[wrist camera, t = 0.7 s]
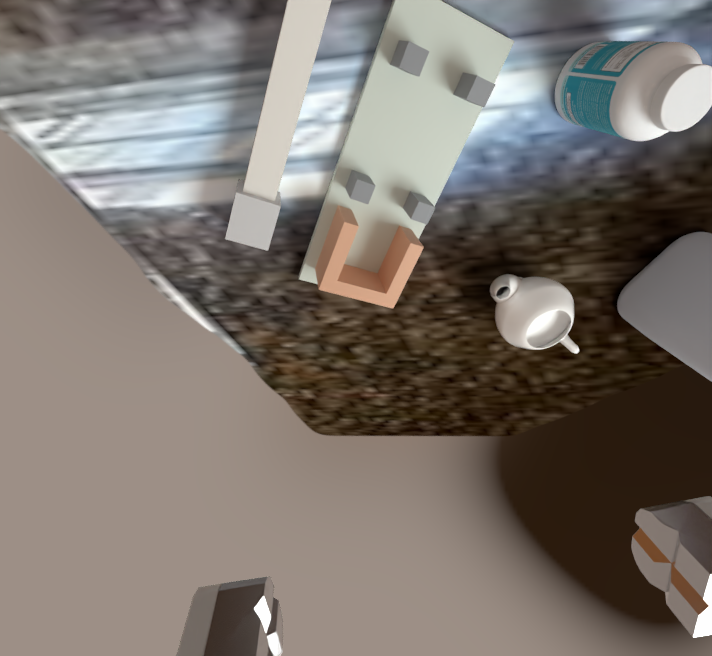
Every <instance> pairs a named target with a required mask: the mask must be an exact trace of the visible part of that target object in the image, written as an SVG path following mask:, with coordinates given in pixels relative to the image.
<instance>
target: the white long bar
mask: <svg viewBox="0 0 712 656" xmlns="http://www.w3.org/2000/svg"><path fill="white" fill-rule="evenodd" d="M330 3H331V0H287V4H286V9H285V13H284V17H283V21H282V26H281V30H280V34H279V38H278V42H277V47H276V51H275V55H274V59H273V64H272V68H271V72H270V76H269V80H268V85H267V89H266V93H265V97H264V102H263V106H262V110H261V114H260V118H259V123H258V127H257V131H256V135H255V140H254V144H253V148H252V152H251V156H250V161H249V165H248V169H247V173H246V178H245V181H243V180H240V179H239V181H238V185H237V190H236V194H235V198H234V203H233V207H232V211H231V216H230V220H229V225H228V229H227V233H226V238H225V239H227V240H231V241H234V242H238V243H242V244H245V245H249V246H253V247H256V248H260V249H263V250H267V251H268V249H269V245H270V242H271V239H272V235H273V232H274V228H275V225H276V221H277V218H278V214H279V211H280V208H281V200H280V192H278V189H279V185H280V181H281V178H282V174H283V171H284V167H285V164H286V160H287V157H288V153H289V149H290V146H291V142H292V139H293V135H294V132H295V128H296V124H297V121H298V117H299V114H300V110H301V107H302V103H303V100H304V96H305V92H306V89H307V85H308V82H309V78H310V75H311V71H312V68H313V64H314V60H315V57H316V53H317V50H318V46H319V43H320V39H321V35H322V32H323V28H324V25H325V21H326V18H327V14H328V11H329V7H330Z"/></svg>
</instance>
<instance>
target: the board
mask: <svg viewBox="0 0 712 656" xmlns="http://www.w3.org/2000/svg"><path fill="white" fill-rule="evenodd" d="M513 43H514V41H513V40H511V39H509V38H507V37H505V36H504V35H502V34H500V33H498V32H496V31H495V30H493V29H491V28H489V27H487V26H486V25H484V24H482V23H480V22H478V21H477V20H475V19H473V18H471V17H470V16H468V15H466V14H464V13H462V12H461V11H459V10H457V9H455V8H453V7H452V6H450V5H448V4H446V3H444V2H443V1H441V0H393V2H392V4H391V7H390V10H389V13H388V16H387V19H386V22H385V25H384V28H383V31H382V34H381V37H380V39H379V42H378V45H377V48H376V51H375V54H374V57H373V60H372V63H371V66H370V69H369V72H368V74H367V77H366V80H365V83H364V86H363V89H362V92H361V95H360V98H359V101H358V104H357V107H356V109H355V112H354V115H353V118H352V121H351V124H350V127H349V130H348V133H347V136H346V139H345V142H344V144H343V147H342V150H341V153H340V156H339V159H338V162H337V165H336V168H335V171H334V174H333V177H332V179H331V182H330V185H329V188H328V191H327V194H326V197H325V200H324V203H323V206H322V209H321V212H320V214H319V217H318V220H317V223H316V226H315V229H314V232H313V235H312V238H311V241H310V244H309V247H308V249H307V252H306V255H305V258H304V261H303V264H302V267H301V270H300V273H299V279H300V280H304V281H308V282H311V283H315V284H318V288H319V290H322V291H326V292H330V293H334V294H338V295H342V296H346V297H350V298H354V299H358V300H362V301H366V302H369V303H373V304H377V305H381V306H385V307H389V308H394V306H395V304H396V302H397V300H398V298H399V296H400V294H401V292H402V290H403V288H404V286H405V284H406V282H407V280H408V278H409V276H410V274H411V272H412V270H413V268H414V266H415V264H416V262H417V260H418V258H419V256H420V254H421V252H422V250H423V248H424V247H423V245H422V244H421V242H420V241H419V240H418V239H419V237H420V235H421V233H422V231H423V229H424V227H425V225H426V224H428V222H429V220H430V218H431V216H432V214H433V212H434V209H435V204H436V202H437V200H438V198H439V196H440V194H441V192H442V190H443V188H444V186H445V184H446V182H447V179H448V177H449V175H450V173H451V171H452V169H453V167H454V165H455V163H456V161H457V159H458V157H459V155H460V153H461V151H462V149H463V146H464V144H465V142H466V140H467V138H468V136H469V134H470V132H471V130H472V128H473V126H474V124H475V122H476V120H477V118H478V116H479V113H480V111H481V109H482V107H485V105H486V103H487V101H488V99H489V96H490V94H491V92H492V90H493V88H494V86H495V84H494V83H495V81H496V78H497V76H498V74H499V72H500V70H501V68H502V66H503V64H504V62H505V60H506V58H507V56H508V54H509V52H510V50H511V48H512V45H513Z"/></svg>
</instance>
